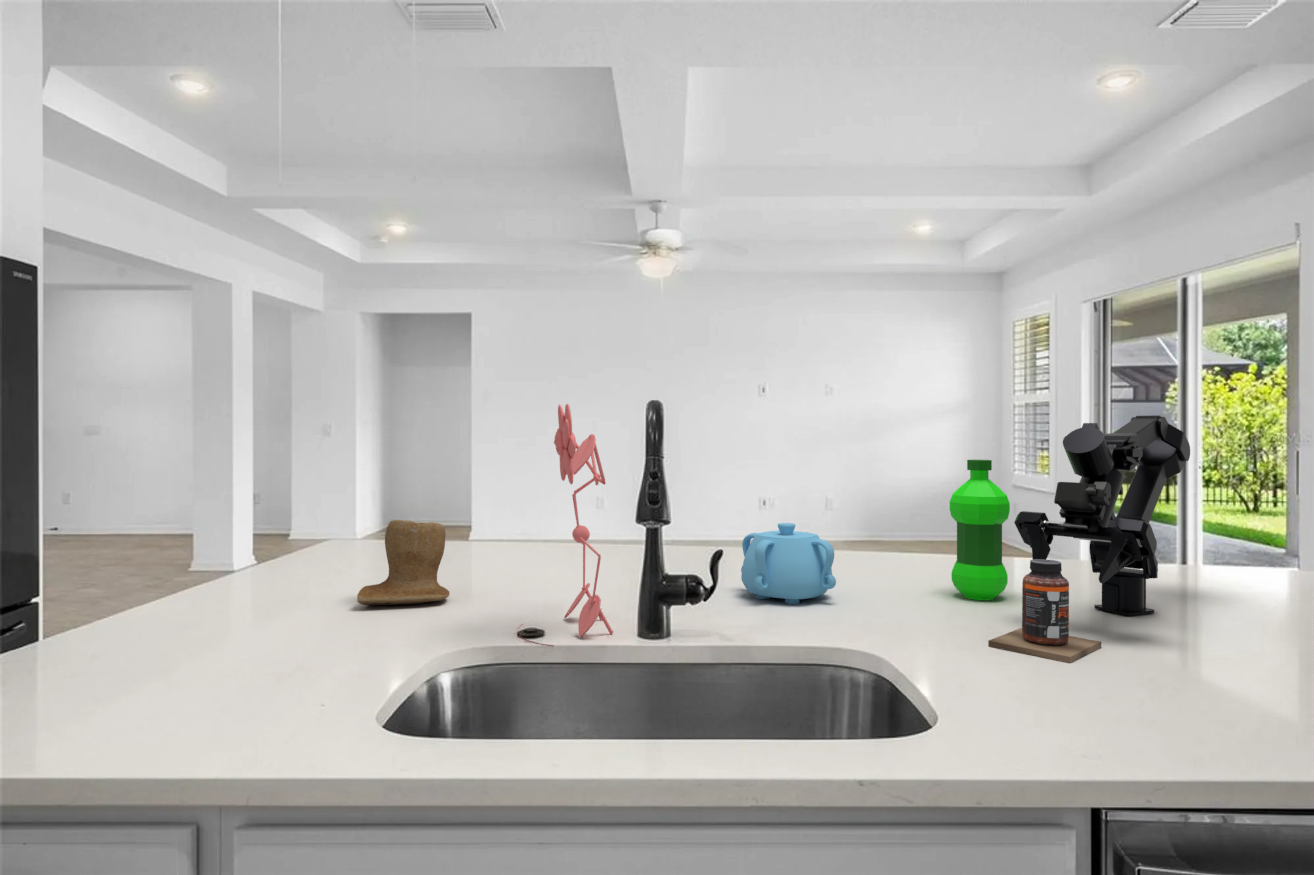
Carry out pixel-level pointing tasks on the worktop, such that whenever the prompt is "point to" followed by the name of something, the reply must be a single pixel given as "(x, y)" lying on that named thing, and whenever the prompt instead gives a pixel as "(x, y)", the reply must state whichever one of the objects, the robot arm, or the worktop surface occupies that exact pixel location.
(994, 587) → the plastic bottle
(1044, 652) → the walnut coaster board
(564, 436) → the figurine
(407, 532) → the brown chair seat
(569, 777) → the worktop surface
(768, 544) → the decorative pot
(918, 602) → the worktop surface
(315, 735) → the worktop surface
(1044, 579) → the supplement bottle
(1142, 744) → the worktop surface
